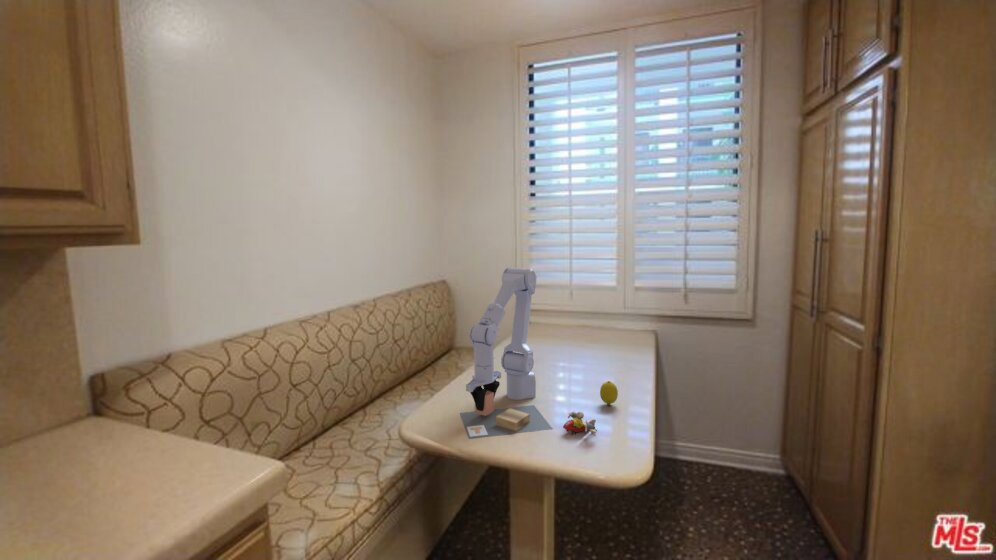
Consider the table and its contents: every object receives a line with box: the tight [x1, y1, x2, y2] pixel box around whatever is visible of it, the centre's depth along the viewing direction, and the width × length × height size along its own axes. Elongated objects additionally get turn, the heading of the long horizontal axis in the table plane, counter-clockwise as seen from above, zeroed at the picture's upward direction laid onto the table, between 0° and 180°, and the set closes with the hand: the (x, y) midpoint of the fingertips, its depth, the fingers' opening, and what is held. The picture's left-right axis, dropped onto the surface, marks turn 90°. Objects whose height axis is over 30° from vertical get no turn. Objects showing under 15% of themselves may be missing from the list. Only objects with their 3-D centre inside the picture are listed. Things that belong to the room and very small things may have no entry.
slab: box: [496, 407, 530, 431], centre depth 127 cm, size 7×7×2 cm
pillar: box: [474, 390, 495, 416], centre depth 132 cm, size 4×4×6 cm
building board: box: [459, 404, 554, 440], centre depth 129 cm, size 24×17×1 cm
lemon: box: [599, 380, 619, 406], centre depth 141 cm, size 6×6×8 cm
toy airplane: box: [562, 410, 598, 436], centre depth 123 cm, size 9×9×6 cm
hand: (484, 407), depth 132 cm, fingers closed on pillar, 4 cm apart
